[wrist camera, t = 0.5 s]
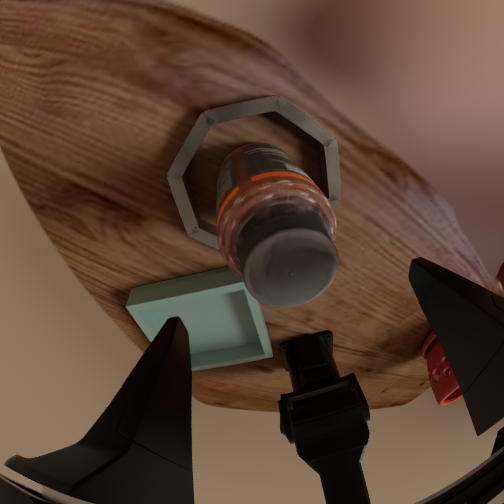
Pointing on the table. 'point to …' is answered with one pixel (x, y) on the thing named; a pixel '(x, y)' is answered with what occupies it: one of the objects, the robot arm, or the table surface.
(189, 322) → the tray
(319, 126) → the holder ring
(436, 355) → the plant pot
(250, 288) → the supplement bottle
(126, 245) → the table surface
